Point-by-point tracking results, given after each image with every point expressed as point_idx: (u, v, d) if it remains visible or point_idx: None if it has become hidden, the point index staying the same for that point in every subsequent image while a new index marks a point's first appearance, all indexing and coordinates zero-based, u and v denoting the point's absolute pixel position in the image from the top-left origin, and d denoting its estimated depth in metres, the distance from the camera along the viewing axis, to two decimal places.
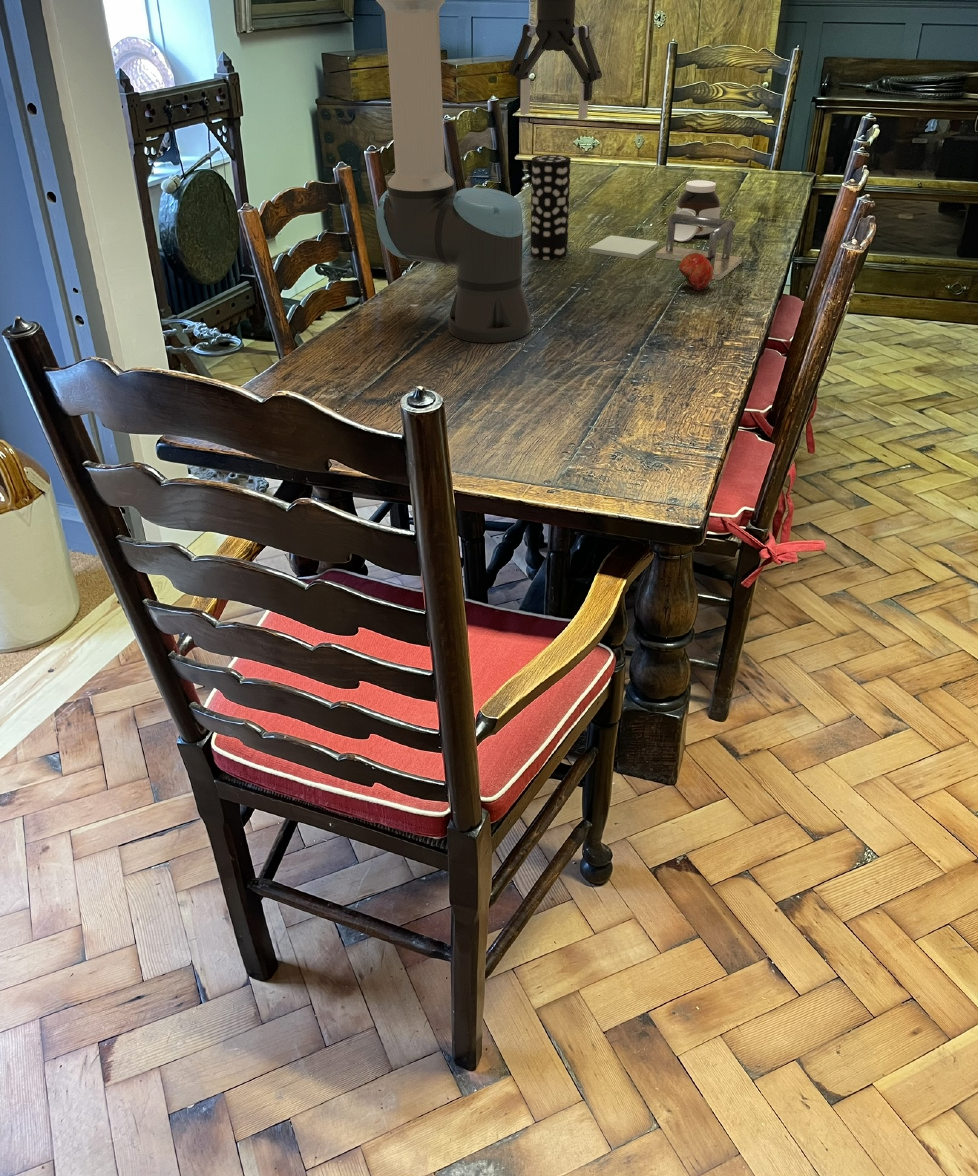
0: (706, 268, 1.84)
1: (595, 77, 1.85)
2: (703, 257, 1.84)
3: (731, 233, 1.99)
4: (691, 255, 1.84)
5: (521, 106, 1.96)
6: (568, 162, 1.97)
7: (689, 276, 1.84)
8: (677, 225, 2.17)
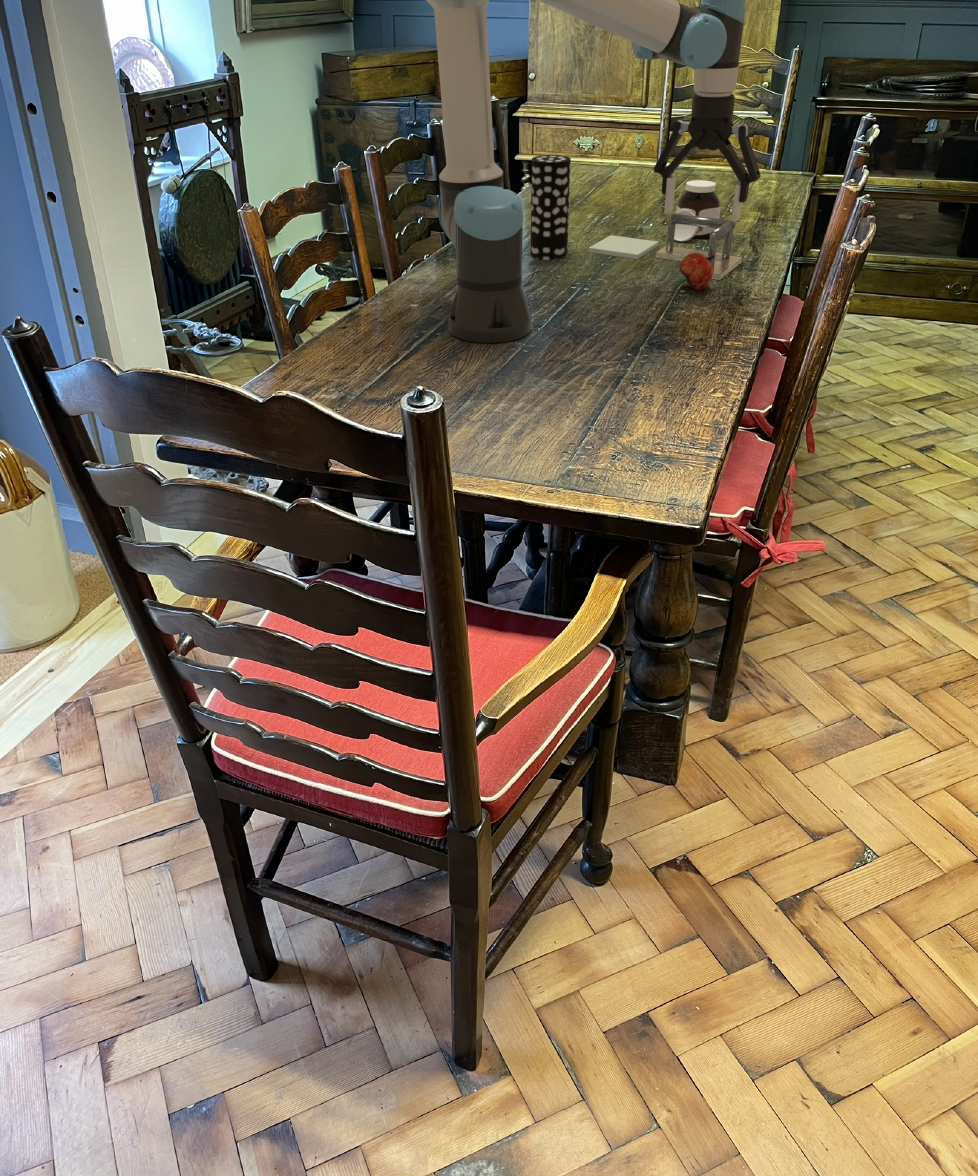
0: (706, 268, 1.84)
1: (754, 179, 1.71)
2: (703, 257, 1.84)
3: (731, 233, 1.99)
4: (691, 255, 1.84)
5: (666, 205, 1.82)
6: (568, 162, 1.97)
7: (689, 276, 1.84)
8: (677, 225, 2.17)
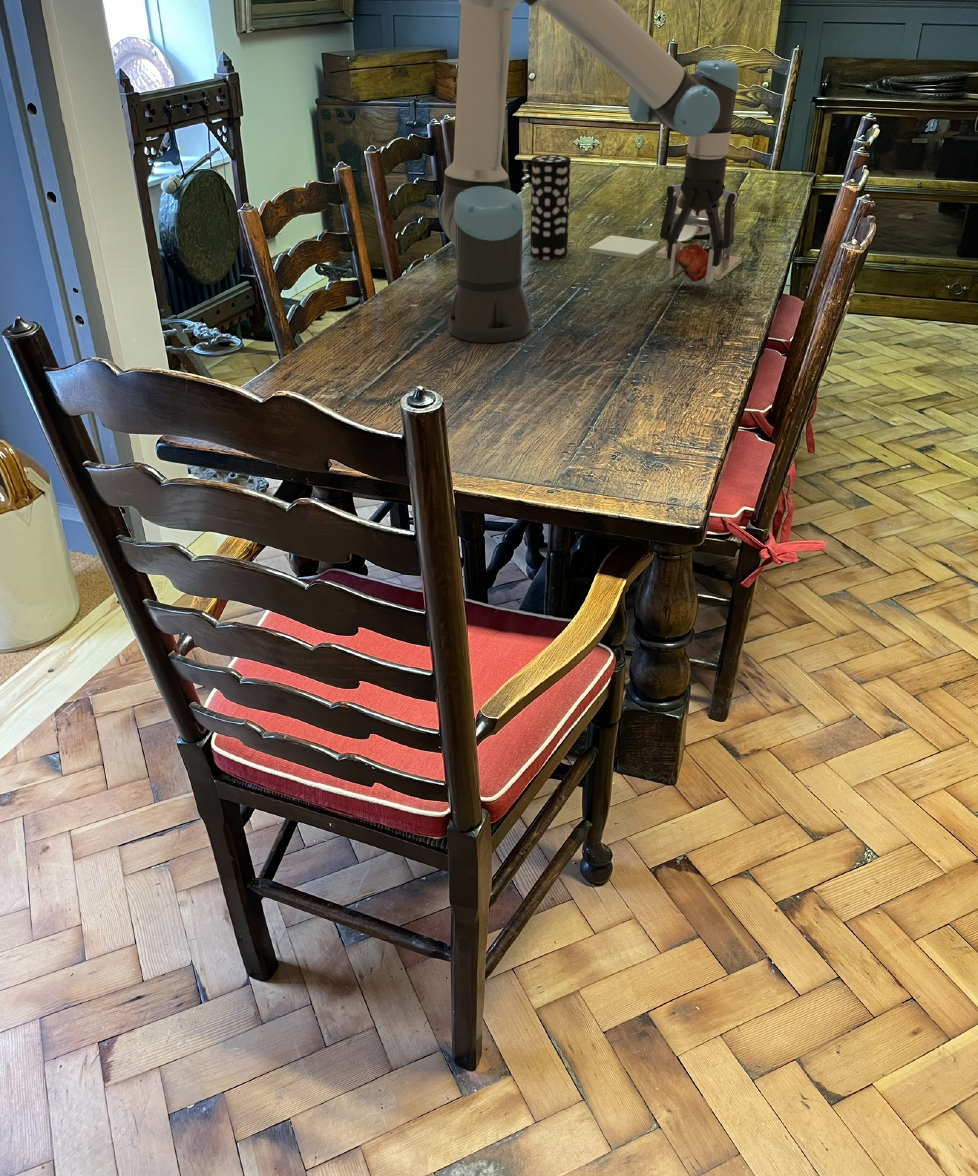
0: (704, 259, 1.83)
1: (727, 246, 1.80)
2: (701, 248, 1.83)
3: None
4: (689, 246, 1.83)
5: (670, 269, 1.87)
6: (568, 162, 1.97)
7: (687, 267, 1.83)
8: None
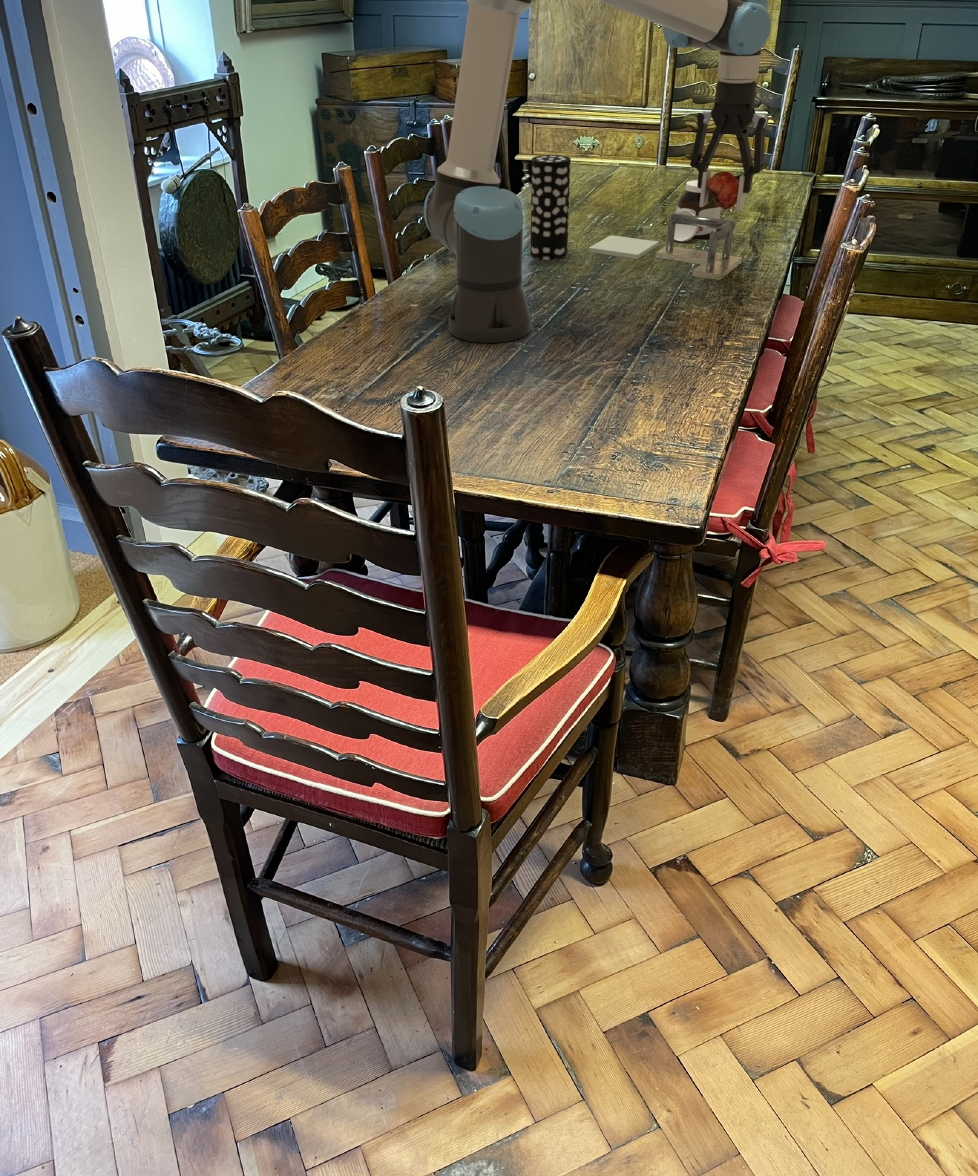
0: (734, 186, 1.85)
1: (757, 171, 1.82)
2: (731, 175, 1.85)
3: (731, 233, 1.99)
4: (720, 173, 1.85)
5: (701, 198, 1.90)
6: (568, 162, 1.97)
7: (718, 194, 1.85)
8: (677, 225, 2.17)
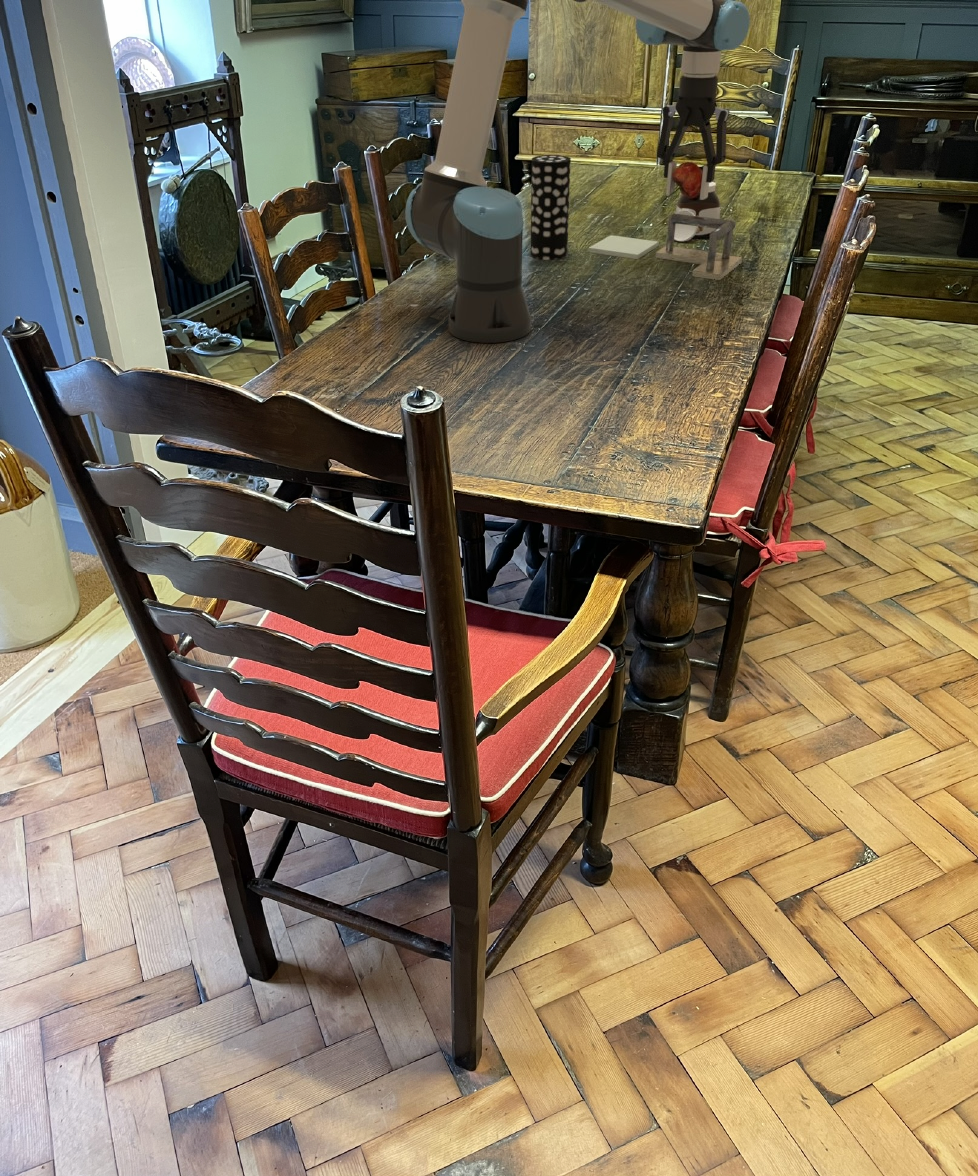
0: (698, 176, 1.95)
1: (719, 162, 1.92)
2: (696, 165, 1.96)
3: (731, 233, 1.99)
4: (684, 163, 1.95)
5: (667, 187, 2.00)
6: (568, 162, 1.97)
7: (682, 183, 1.95)
8: (677, 225, 2.17)
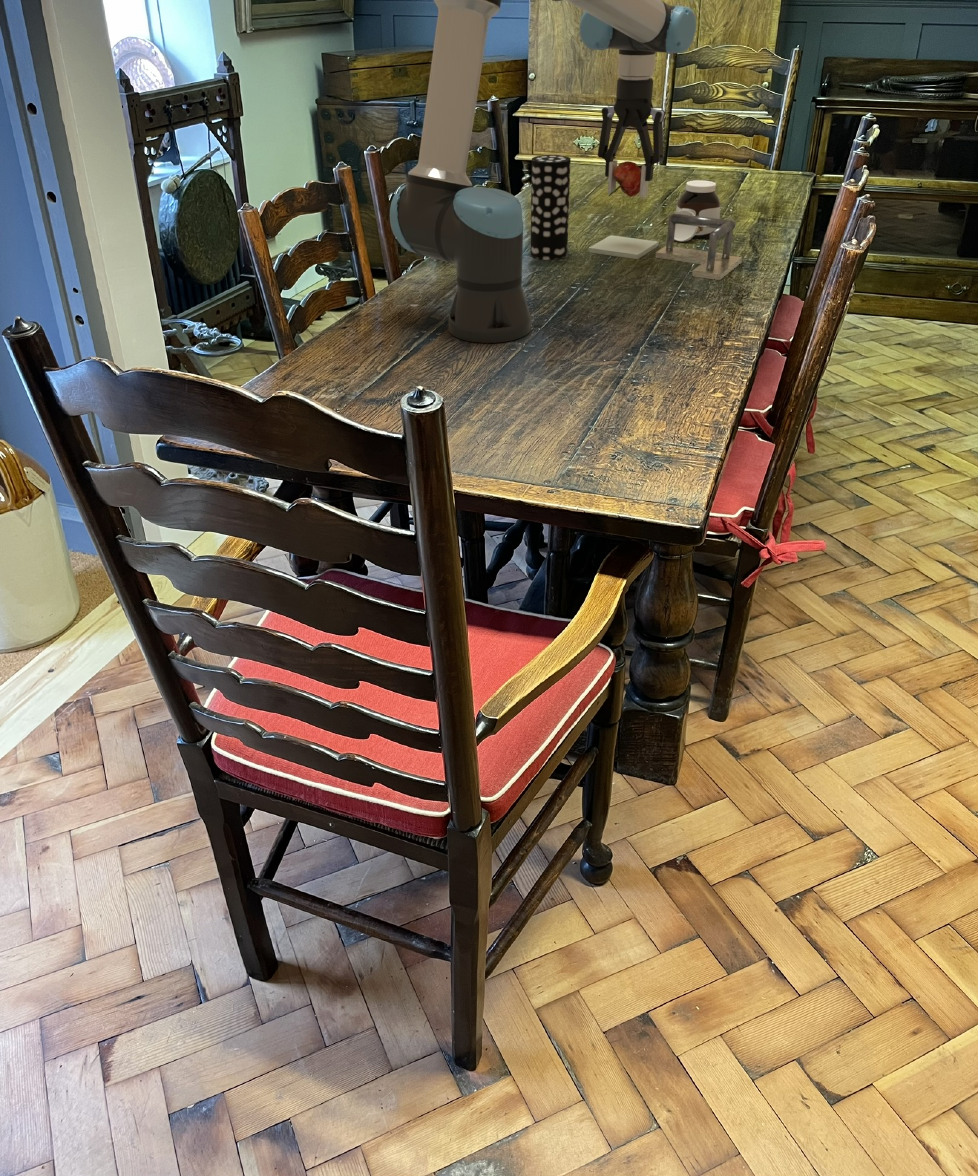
0: (637, 175, 2.01)
1: (657, 161, 1.98)
2: (635, 165, 2.02)
3: (731, 233, 1.99)
4: (624, 163, 2.02)
5: (608, 186, 2.06)
6: (568, 162, 1.97)
7: (622, 182, 2.02)
8: (677, 225, 2.17)
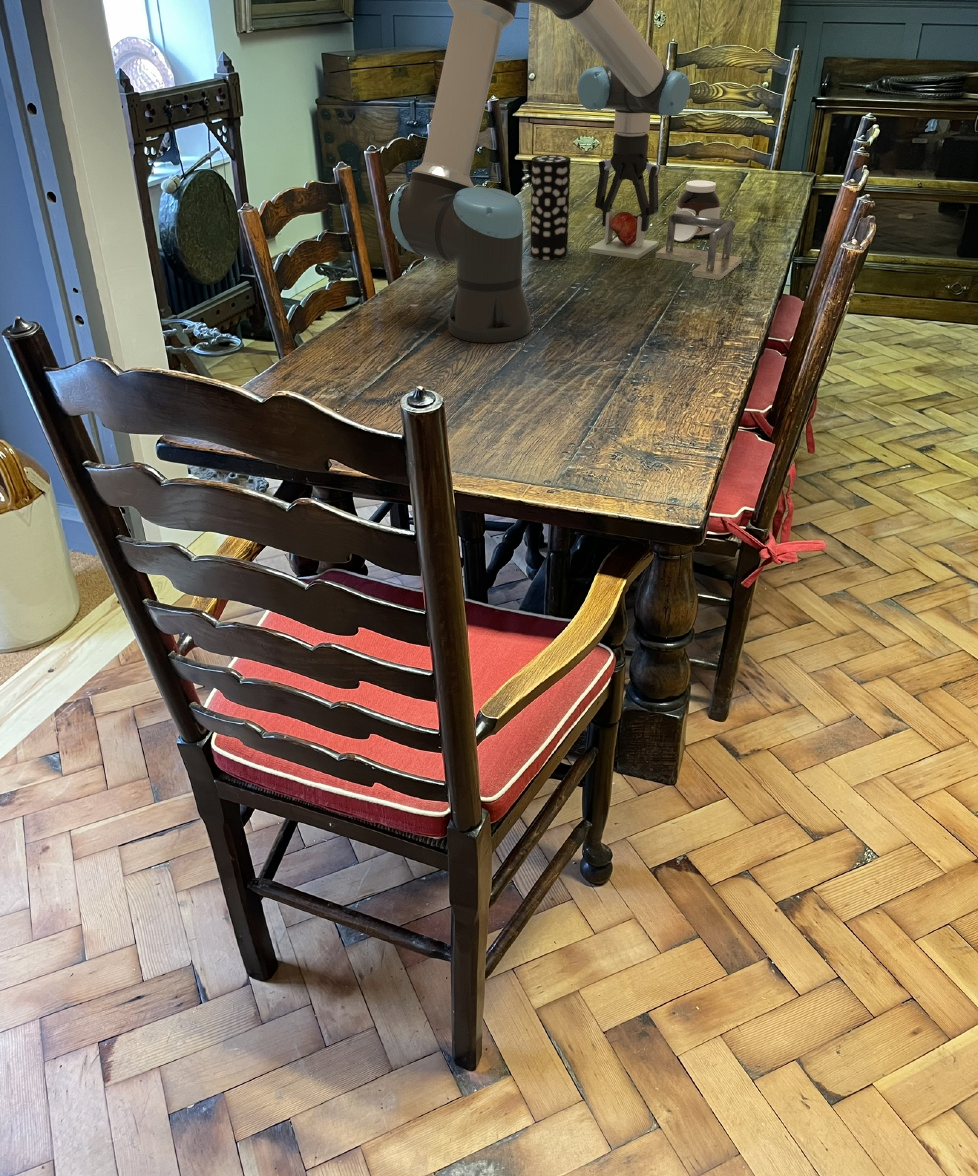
0: (633, 225, 2.07)
1: (652, 213, 2.04)
2: (631, 215, 2.08)
3: (731, 233, 1.99)
4: (620, 213, 2.08)
5: (605, 235, 2.12)
6: (568, 162, 1.97)
7: (619, 232, 2.08)
8: (677, 225, 2.17)
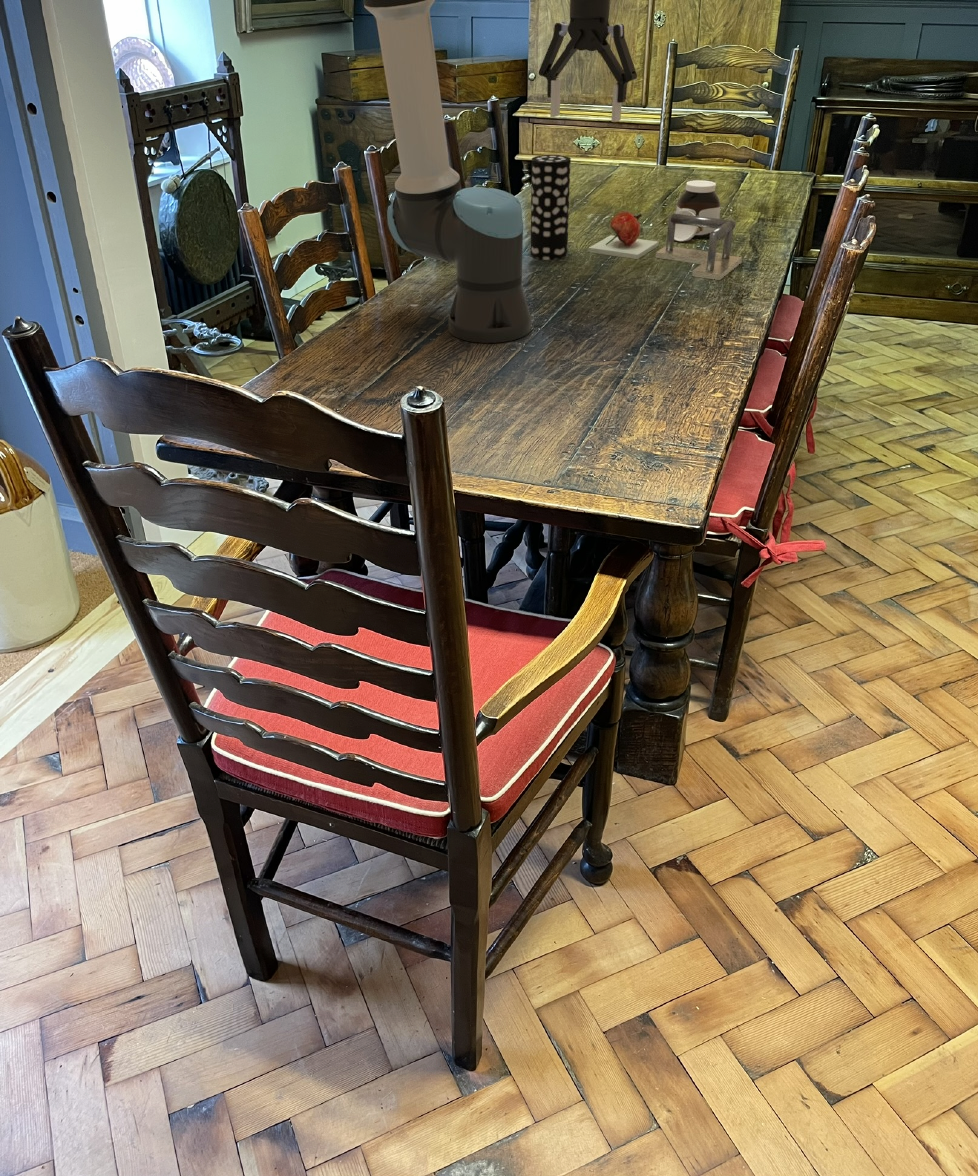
0: (633, 225, 2.07)
1: (630, 78, 1.78)
2: (631, 215, 2.08)
3: (731, 233, 1.99)
4: (620, 213, 2.08)
5: (551, 108, 1.89)
6: (568, 162, 1.97)
7: (619, 232, 2.08)
8: (677, 225, 2.17)
